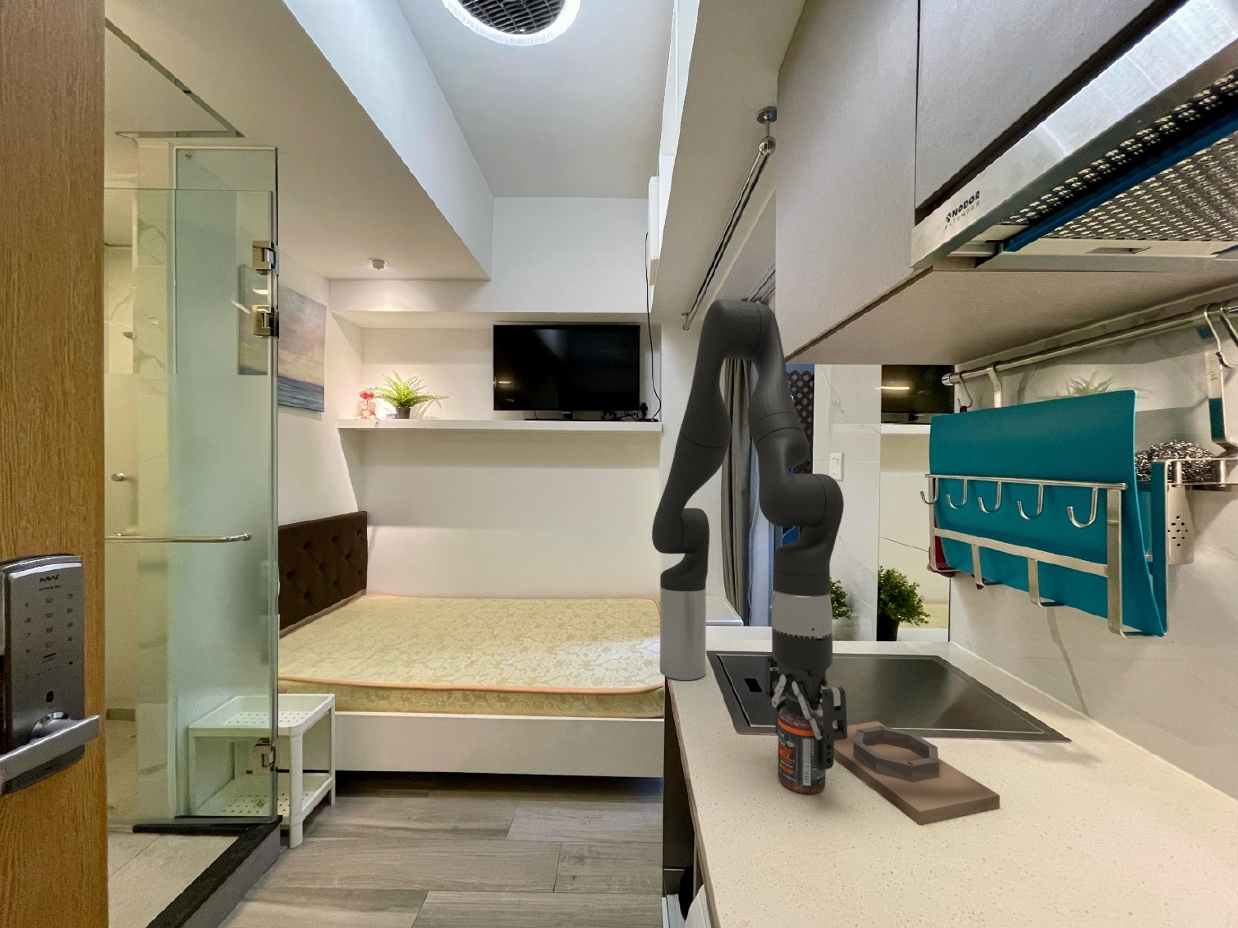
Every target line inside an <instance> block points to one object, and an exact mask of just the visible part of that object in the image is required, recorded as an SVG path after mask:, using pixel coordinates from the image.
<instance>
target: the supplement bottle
mask: <svg viewBox="0 0 1238 928" xmlns="http://www.w3.org/2000/svg"><path fill="white" fill-rule="evenodd" d="M785 702H786V705H785V706H784V707H782V708H781V709H780V711H779V714H778V735H777V775H778V779H779V781H780V782H781V783H782V784H783V786H785V787H787V788H788V789H790V790H792V791H794V792H797V793H802V794H817V793H818V792H821V791H822V790H823V789H824V788H826V787H825V786H826V779H827V777H826V774H827V773H826V771H827V769H825V770H819V769H817V768H816V767H815V766H814V737H815V735H814V732H813V729H812V726H811V723H810V721H809V720H807V719H806V718H805V717H804V714H803V711H802V708H801V705H800V702H799V700H798V699H797V698H796V697H795V696H793V695H792V694H790V693H789V692H787V693H786V701H785ZM811 709H812V710H814V711H816V710H819V706H817V707H816V708H811ZM818 720H819V723H820V726H821V728H823V719H822V718H819V719H818Z"/></svg>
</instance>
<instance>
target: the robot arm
mask: <svg viewBox="0 0 1238 928" xmlns="http://www.w3.org/2000/svg"><path fill="white" fill-rule="evenodd" d="M779 328H780V327H779V324H778V321H777V319H776V316H775V314H774V311H773V310H772V308H771V307H770V306H768V305H766V304H765V303H760V302H753V301H744V300H734V299H727V298H725V299H724V298H721V299H716V300H715V301H712V303H711V304H710V306H709V307H708V309H707V310H706V313H705V315H704V318H703V322H702V326H701V330H700V331H701V332H700V336H699V343H698V349H697V353H696V360H695V367H694V371H693V377H692V382H691V388H690V392H689V395H688V400H687V404H686V408H685V411H684V414H683V419H682V422H681V424H680V428H679V433H678V436H677V439H676V443H675V450H674V453H673V458H672V462H671V466H670V471H669V474H668V478H667V481H666V484H665V487H664V490H663V493H662V495H661V498H660V501H659V504H658V507H657V509H656V512H655V515H654V518H653V522H652V523H653V524H652V528H651V529H652V531H651V540H652V543H653V547H654V549H655V550H656V551H657V552H658V553H661V554H664V555H665V554H666V555H667V554H668V555H675V554H676V555H682V554H684V555H683V558H682V559H681V560H680V561H679V562H678V563H677V564H675V565H673V566H672V567H669V568H667V569H665V570H663V571H662V572H661V574H660V577H659V578H660V579H659V587H660V589H659V591H660V596H659V597H660V598H659V600H660V601H659V605H660V607H659V609H660V610H659V616H660V617H659V618H660V619H659V621H660V622H659V626H660V627H659V672H660V673H661V675H663V676H665V677H667V678H669V679H673V680H680V681H692V680H698V679H701V678H702V677H704V676H705V675H706V667H707V666H706V657H707V656H706V655H707V654H706V653H707V652H706V649H707V648H706V647H707V645H706V644H707V642H706V641H707V640H706V639H707V635H706V634H707V633H706V632H707V622H706V621H707V616H706V615H707V600H706V597H707V595H706V594H707V577H708V573H709V572H708V571H709V552H710V533H711V532H710V523H709V519H708V516H707V513H706V512H705V511H704V510H703V509H702V508H699V507H686V505H687V503H689V500H690V499H691V498H692V496H694V495H695V494H696V493H697V492H698V491H699V490H700V489H701V488H702V487H703V486H704V485H705V484H706V483H707V482H708V481H709V480H711V479H712V477H714V475H715V474H717V472H718V471H719V470H720V468H721V466H722V465H723V463H724V461H725V458H726V455H727V452H728V449H729V445H730V442H731V439H732V435H733V434H732V433H733V427H732V422H731V418H730V415H729V412H728V409H727V407H726V403H725V401H724V398H723V395H722V391H721V384H720V383H721V382H720V381H721V373H722V369H723V365H724V361H725V360H726V359H727V360H728V359H729V360H738V361H739V360H740V361H741V360H742V361H751V362H752V364H753V365H754V367H755V370H756V372H757V375H758V377H757V382H756V384H755V388H754V390H753V391H752V394H751V396H750V400H749V402H748V408H747V415H746V416H747V424H748V428H749V432H750V435H751V438H752V441H753V444H754V448H755V451H756V454H757V457H758V458H757V460H758V477H759V478H758V504H759V508H760V512H761V513H762V514H763V517H764V518H765V519H766V520H767V521H768V522H769V523H770V524H771V525H773V526H775V527H778V528H800V527H802V529H801V532H800V535H799V537H798V538H797V539H796V540H795V541H793V542H790V543H787V544H784V545H781V546H779V547H777V548H776V550H775V551H774V555H773V596H772V601H771V602H772V603H771V652H772V653H771V654H768V655H766V656H765V675H764V677H765V678H764V679H765V680H764V695H765V697H766V698H767V699H768V698H769V699H771V704H772V707H774V727H775V728H774V729H775V730H774V732H775V734H776V735H777V736H778V714H779V711H780V709H781V708H782V707H784V706H785V705H786V702H785V701H786V693H787V692H789V693H790V694H792V695H793V696H795V697H796V698H797V699H798V700H799V702H800V705H801V708H802V711H803V714H804V717H805V718H806V719H807V720H809V721H810V723H811V726H812V729H813V732H814V735H815V737H814V766H815V767H816V768H817V769H819V770H825V769H826V770H829V769H832V767H833V766H834V763H835V759H834V741H835V740H843V739H847V726H848V721H847V719H848V717H847V702H846V699H847V698H846V690H845V689H844V687H842V686H839V687H834V686H831V685H829V683H828V680H827V671H828V669H829V668H830V667H831V666H832V665H833V662H834V658H833V657H834V656H833V655H834V654H833V652H834V651H833V647H834V646H833V642H834V641H833V640H834V639H833V636H834V635H833V634H834V633H833V606H832V602H831V601H832V600H831V570H830V569H831V567H830V566H831V565H830V564H831V563H830V562H831V558H832V555H833V551H834V548H835V544H836V542H837V541H836V540H837V538H838V537H837V536H838V533H839V529H840V526H841V522H842V519H843V513H844V508H845V505H844V504H845V502H844V495H843V492H842V489H841V487H840V485H839V483H838V482H837V480H836V479H835V478H833V477H832V476H830V475H828V474H825V473H791V471H790V470H789V469H792V468H794V467H797V466H799V465H801V464H802V463H803V462H805V461H806V459H807V458H808V457H809V454H810V444H809V440H808V438H807V435H806V432H805V430H804V428H803V424H802V422H801V419H800V417H799V413H798V412H797V408H796V407H795V402H794V400H793V397H792V394H791V389H790V385H789V379H788V372H787V365H786V360H785V353H784V349H783V344H782V338H781V333H780V329H779ZM774 682H776V687H774V686H773V683H774ZM817 706H818V707H819V706H821V708H822V709H817V710H816V711H814V710H812V709H811V708H816V707H817ZM819 718H822V719H823V728H821V726H820V723H819V720H818V719H819ZM835 721H836V725H835ZM836 727H837V728H836Z"/></svg>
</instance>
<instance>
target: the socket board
mask: <svg viewBox="0 0 1238 928" xmlns="http://www.w3.org/2000/svg"><path fill="white" fill-rule="evenodd" d="M835 727H836V728H837V726H835ZM938 750H939V748H938V746H936V745H935V744H932V743H931V742H929V741H928V740H926V739H924V738H923V737H921V736H919V735H917V734H916V733H914V732H912V731H911V732H910V731H906V730H901V729H896V728H892V727H888V726H886V725H884V724H883V723H881V722H879V721H878V720H877V721H869V722H864V723H863V722H862V723H857V724H849V725H848V724H847V739H843V740H835V741H834V760H836V761H837V762H838V763H839V764H840V765H842V766H843V767H844V768H845V769H847V770H849V772H851V773H852V774H854V776H856V777H857V778H858V779H860V780H861V781H862V782H864V783H865V784H866V785H868V786H869V787H870V788H871V789H873V790H874V791H875V792H876V793H878V794H879V795H880V796H882V797H883V799H886V800H887V801H889V802H890V803H891V804H892V805H893V806H895V807H896V808H897V809H899V811H901V812H903V814H905V815H906V816H908V817H909V818H910V819H911V820H913V821H914V822H915V823H916V824H917V825H919V826H921V825H927V824H930V823H931V824H932V823H935V822H939V821H945V820H949V819H954V818H959V817H962V816H967V815H971V814H976V813H981V812H982V813H983V812H986V811H990V810H996V809H999V808H1001V803H1000V802H1001V799H1000V797H1001V795H1000V794H999V793H997V792H996V791H994V790H992V789H990V788H989V787H987V786H985V785H983V784H982V783H980V782H979V781H977V780H976V779H974V778H972V777H970V776H969V775H967V774H965V773H964V772H962V771H960V770H959V769H957V768H956V767H954V766H952V765H950V764H949V763H947V761H944V760H942V759H941V758H939V752H938Z"/></svg>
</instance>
